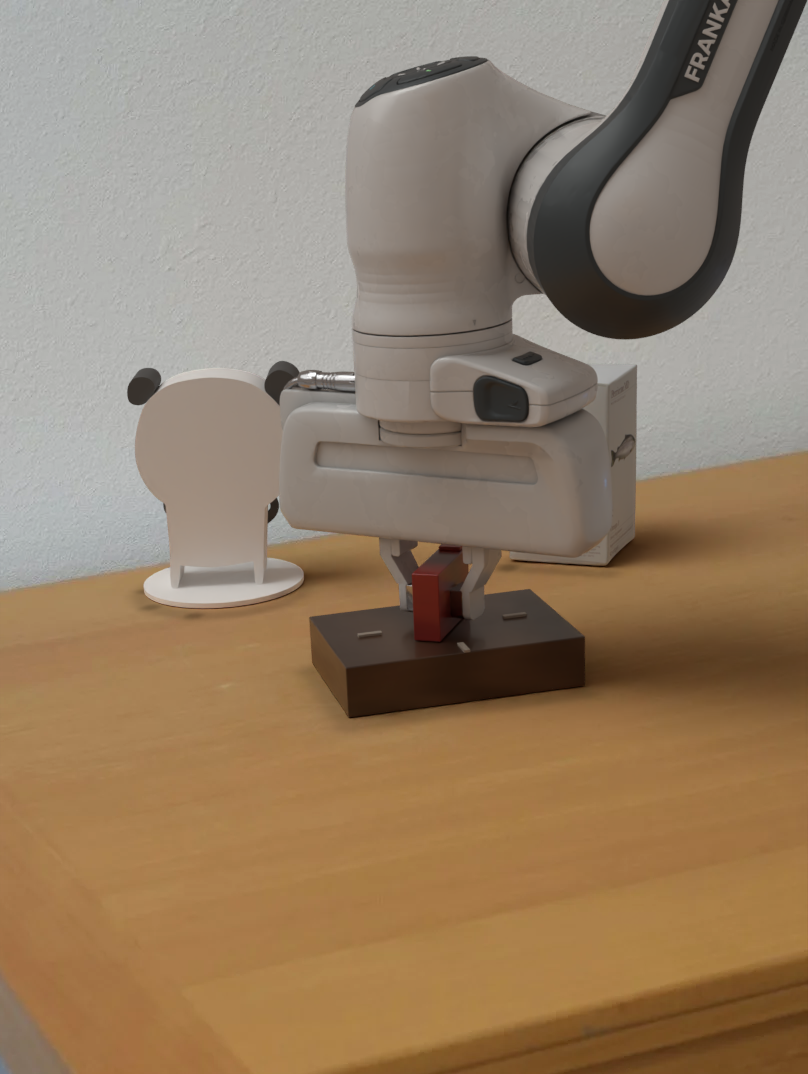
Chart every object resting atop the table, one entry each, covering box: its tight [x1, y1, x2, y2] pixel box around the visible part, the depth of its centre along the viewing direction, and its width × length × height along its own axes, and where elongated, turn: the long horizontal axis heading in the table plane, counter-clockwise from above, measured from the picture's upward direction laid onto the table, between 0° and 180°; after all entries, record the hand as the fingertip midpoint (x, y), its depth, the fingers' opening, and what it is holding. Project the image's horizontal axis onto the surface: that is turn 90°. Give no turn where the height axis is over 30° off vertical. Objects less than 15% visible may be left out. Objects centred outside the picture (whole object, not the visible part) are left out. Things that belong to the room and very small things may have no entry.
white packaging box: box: [509, 363, 638, 567], centre depth 128 cm, size 7×7×13 cm
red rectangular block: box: [412, 544, 470, 642], centre depth 106 cm, size 6×2×4 cm, turn 158°
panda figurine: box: [126, 360, 305, 609], centre depth 126 cm, size 12×11×15 cm
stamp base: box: [308, 588, 586, 718], centre depth 108 cm, size 14×10×3 cm
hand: (442, 613), depth 107 cm, fingers closed on red rectangular block, 2 cm apart
